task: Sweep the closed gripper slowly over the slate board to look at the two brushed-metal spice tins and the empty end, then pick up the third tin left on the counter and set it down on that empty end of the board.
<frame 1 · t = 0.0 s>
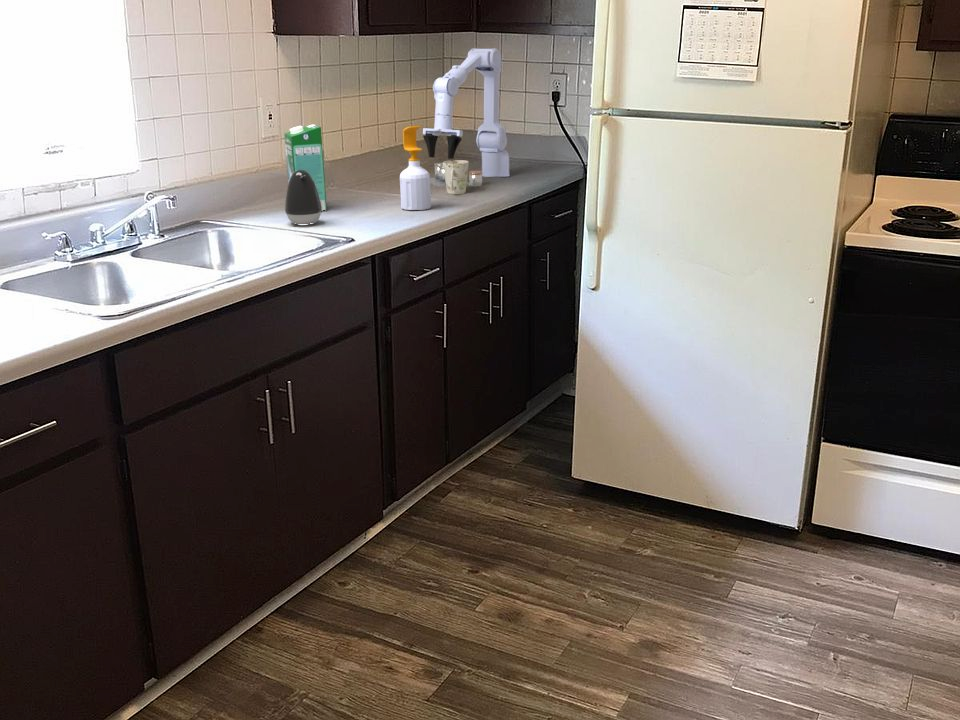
hand: (441, 158, 321), 11 cm above the worktop, tool pointing down, fingers open, 7 cm apart
tin left: (441, 178, 343), point 1 cm above the worktop, touching slate board
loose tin: (475, 187, 329), on the worktop
milk carton: (308, 210, 296), on the worktop
soap bottle: (416, 209, 295), on the worktop
slate board: (446, 182, 338), on the worktop
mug: (455, 194, 317), on the worktop
tin middle: (445, 180, 338), point 1 cm above the worktop, touching slate board
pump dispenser: (304, 224, 277), on the worktop
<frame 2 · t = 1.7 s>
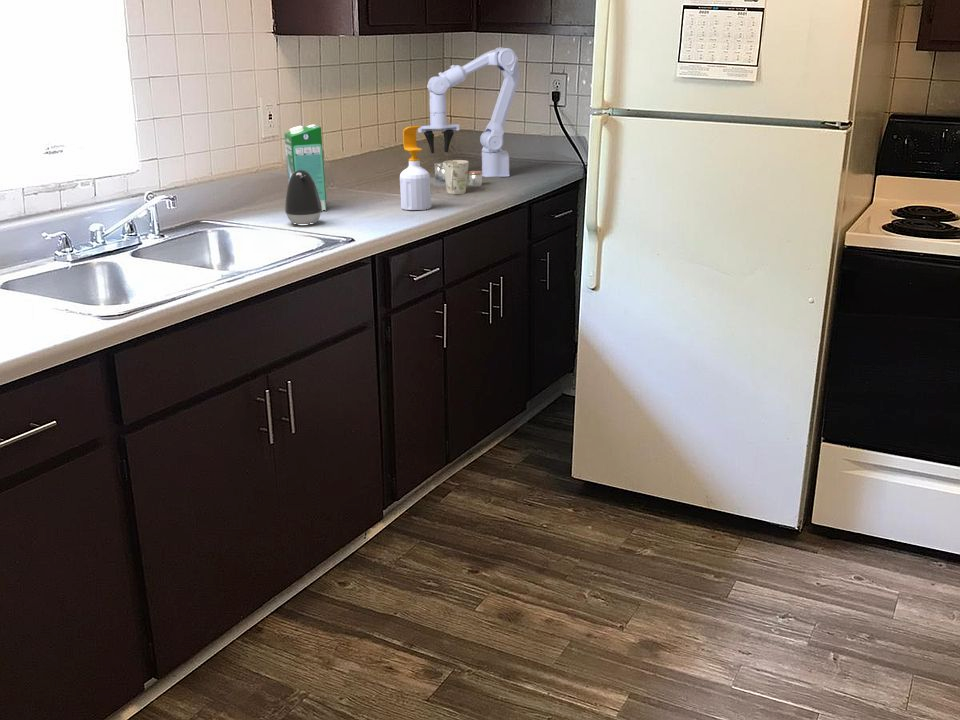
hand: (439, 152, 342), 9 cm above the worktop, tool pointing down, fingers open, 4 cm apart
nothing on the worktop moved.
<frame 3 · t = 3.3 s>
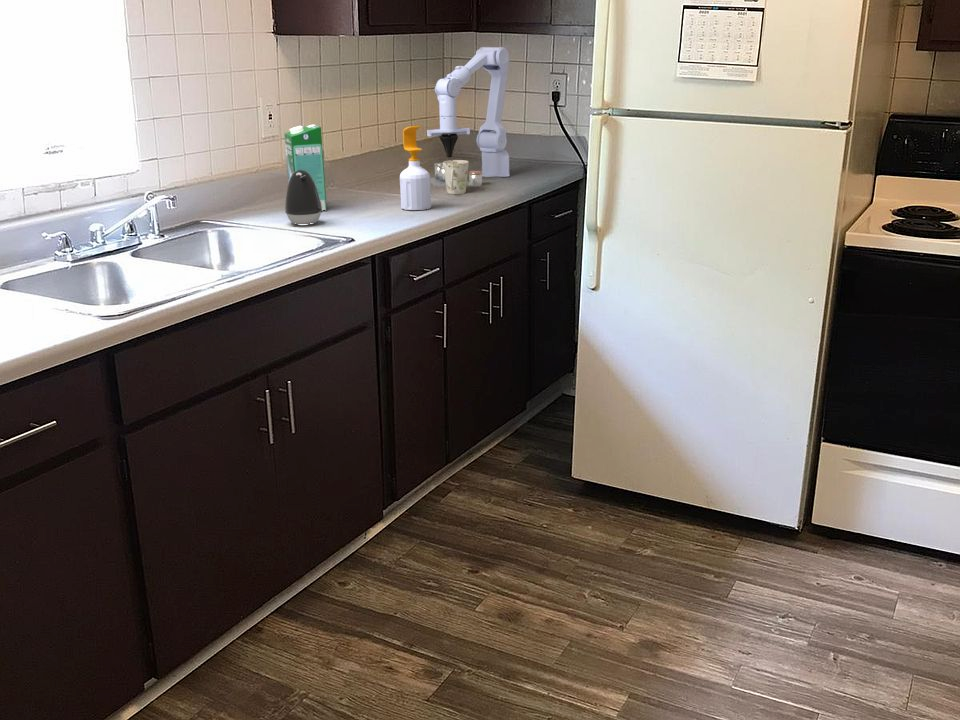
hand: (449, 157, 330), 9 cm above the worktop, tool pointing down, fingers closed
nothing on the worktop moved.
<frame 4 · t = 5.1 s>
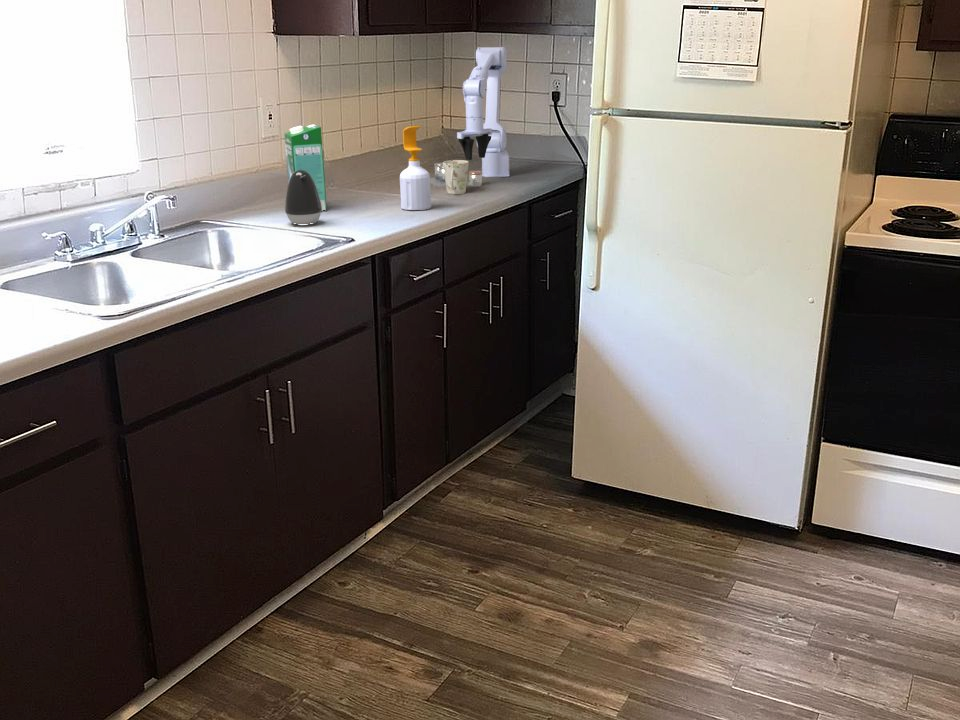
hand: (475, 158, 326), 9 cm above the worktop, tool pointing down, fingers open, 6 cm apart
nothing on the worktop moved.
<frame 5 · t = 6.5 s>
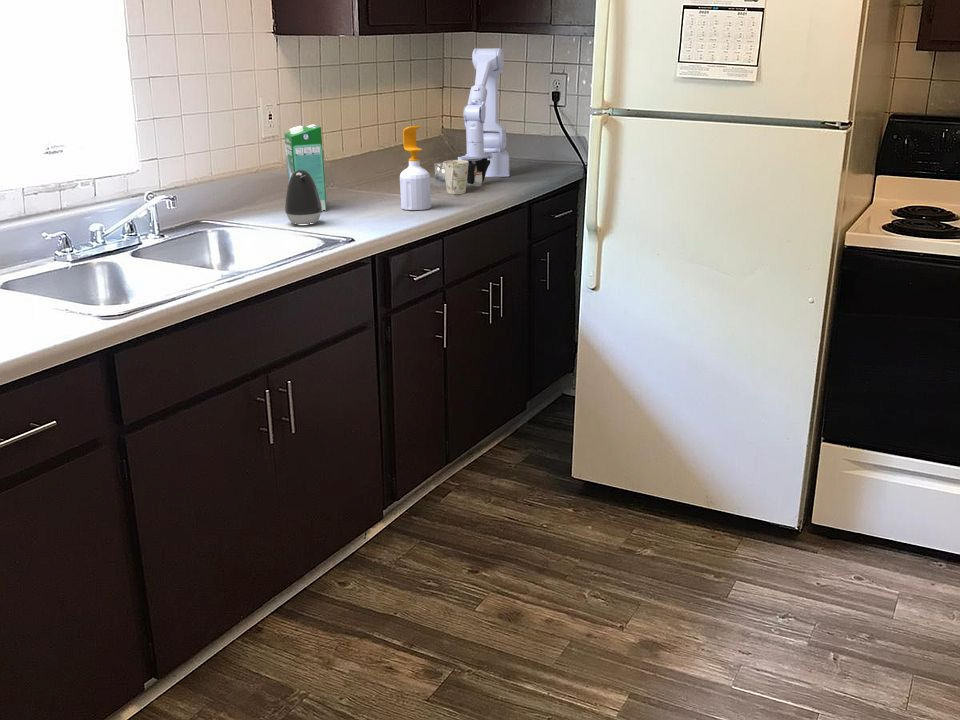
hand: (475, 182, 329), 1 cm above the worktop, tool pointing down, fingers closed on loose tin, 4 cm apart
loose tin: (475, 186, 329), on the worktop, touching gripper
everything else where it was.
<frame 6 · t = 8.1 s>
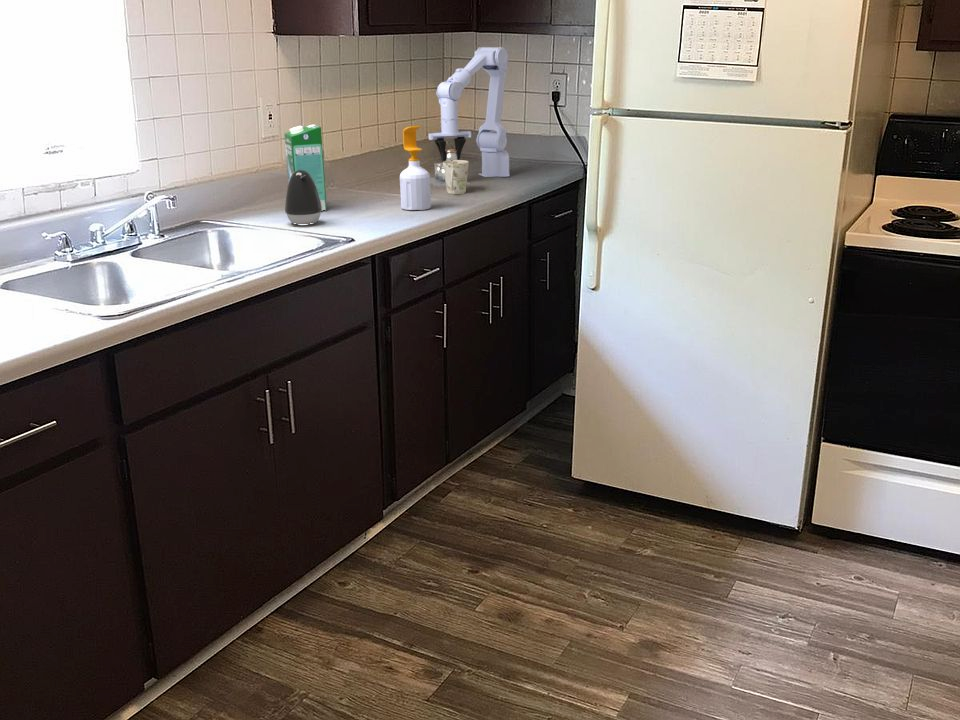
hand: (450, 160, 330), 8 cm above the worktop, tool pointing down, fingers closed on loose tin, 4 cm apart
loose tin: (451, 165, 330), point 7 cm above the worktop, touching gripper
everything else where it was.
when the fingers open (3 cm above the worktop, at t = 9.7 s): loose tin stays where it is, resting on slate board.
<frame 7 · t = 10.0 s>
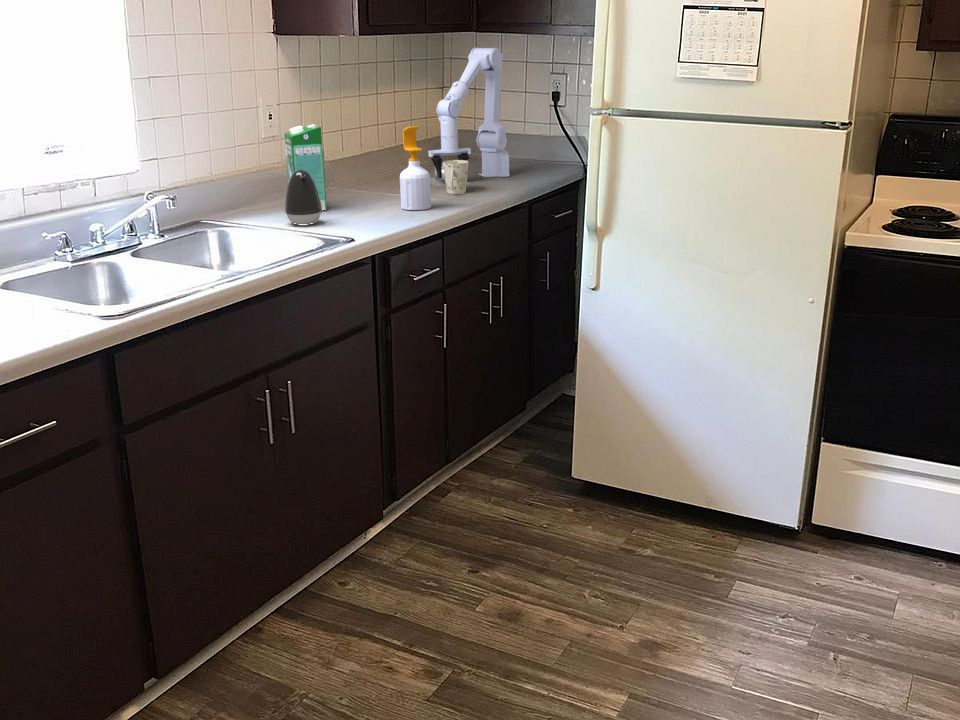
hand: (450, 177, 332), 3 cm above the worktop, tool pointing down, fingers open, 7 cm apart
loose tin: (451, 183, 332), point 1 cm above the worktop, touching slate board
everything else where it was.
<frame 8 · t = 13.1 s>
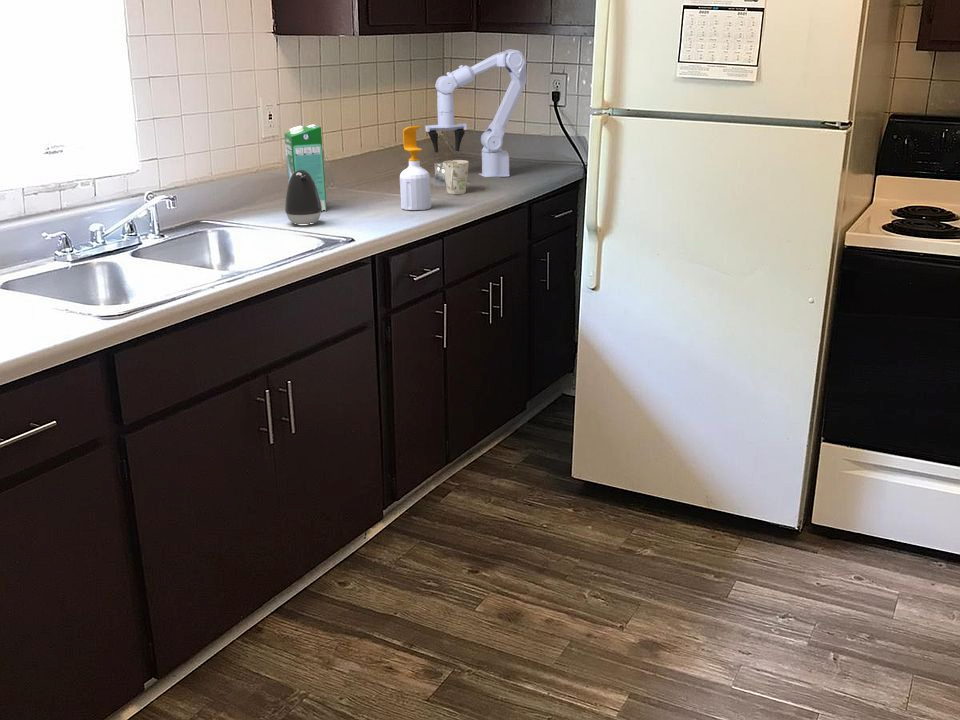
hand: (446, 151, 344), 9 cm above the worktop, tool pointing down, fingers open, 7 cm apart
nothing on the worktop moved.
at the end: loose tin inside the target area (0.1 cm from its centre), point 0.6 cm above the worktop; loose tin tilted 0°; the gripper is holding nothing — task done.
